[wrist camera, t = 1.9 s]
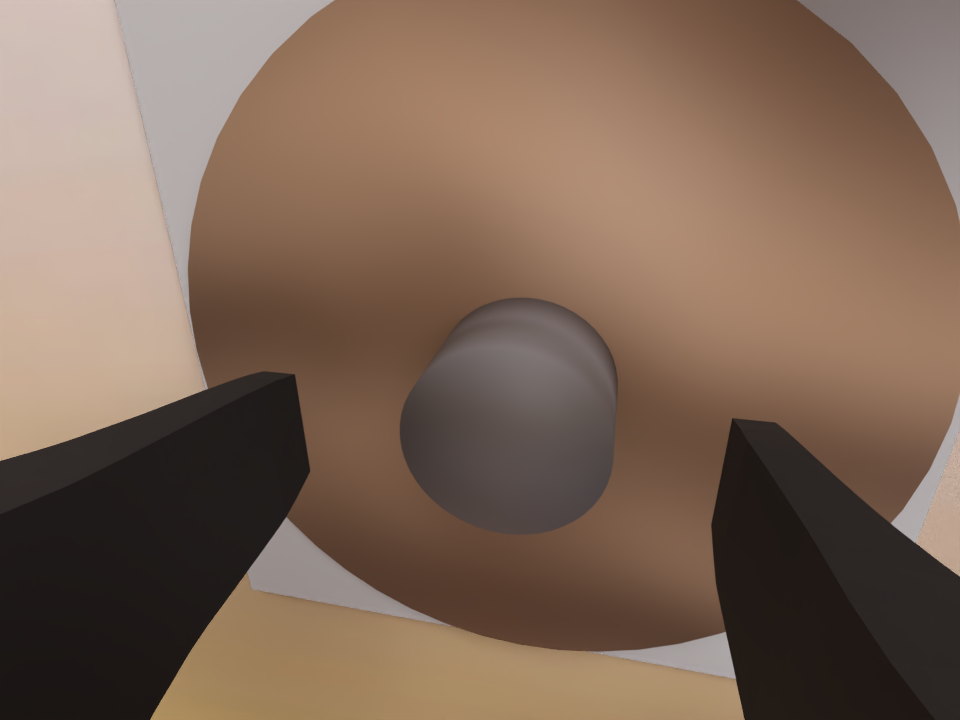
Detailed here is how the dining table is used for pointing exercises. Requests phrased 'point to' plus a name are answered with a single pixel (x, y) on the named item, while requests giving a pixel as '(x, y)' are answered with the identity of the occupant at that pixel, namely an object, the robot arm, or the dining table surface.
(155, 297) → the dining table surface
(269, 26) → the grey mat
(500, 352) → the walnut lid
